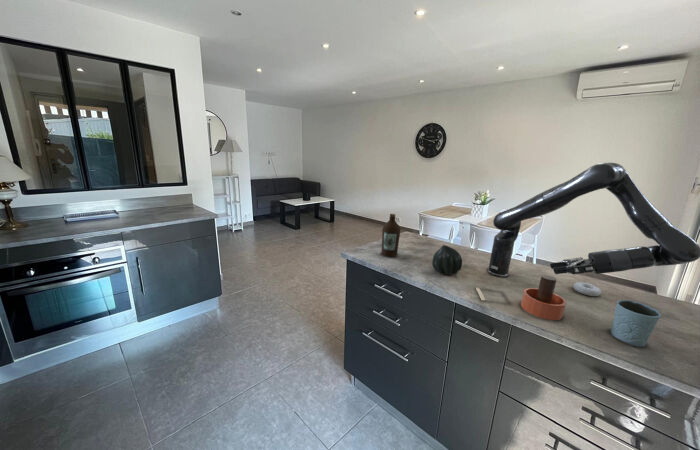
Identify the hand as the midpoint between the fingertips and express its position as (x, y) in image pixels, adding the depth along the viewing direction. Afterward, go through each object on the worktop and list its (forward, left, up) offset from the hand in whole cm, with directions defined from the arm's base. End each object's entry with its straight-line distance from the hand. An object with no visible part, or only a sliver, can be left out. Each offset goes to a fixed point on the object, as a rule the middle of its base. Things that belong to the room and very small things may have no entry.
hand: (552, 268), depth 99 cm
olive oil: (-46, -63, -19) cm, 80 cm away
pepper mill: (-2, +1, -18) cm, 18 cm away
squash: (-30, -32, -19) cm, 48 cm away
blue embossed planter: (+9, +23, -19) cm, 31 cm away
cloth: (-9, -15, -19) cm, 26 cm away
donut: (-27, +30, -19) cm, 44 cm away
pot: (-2, +1, -19) cm, 19 cm away
